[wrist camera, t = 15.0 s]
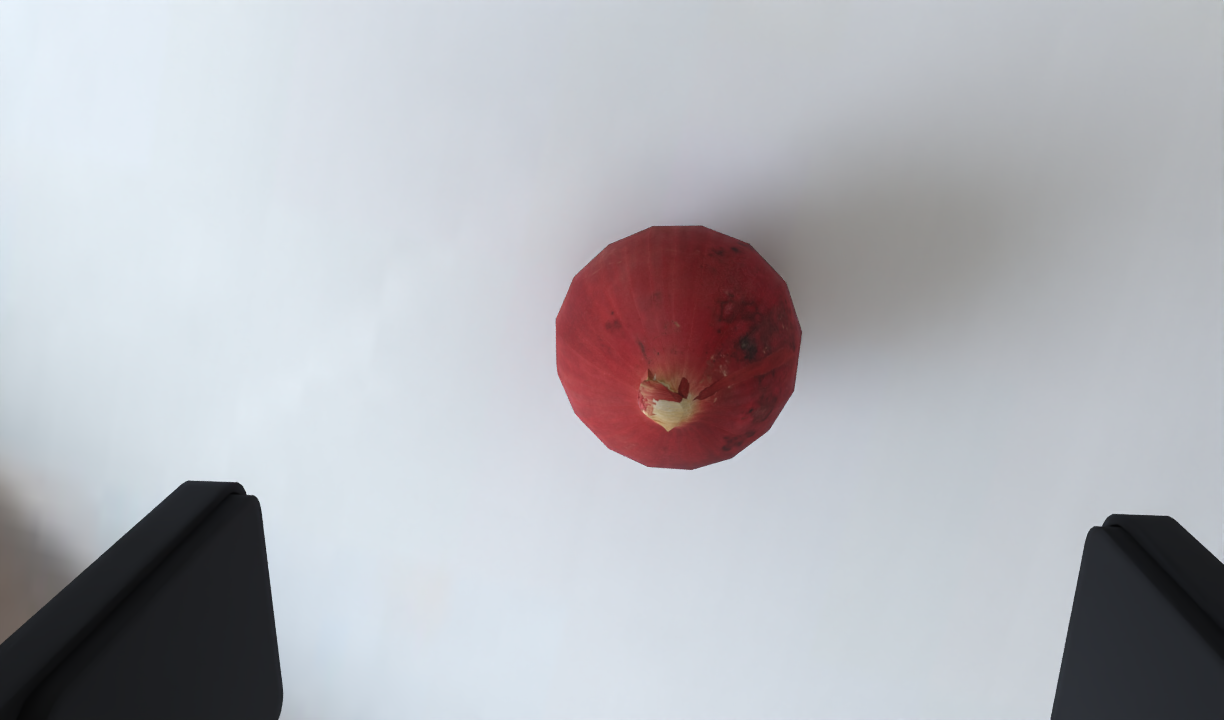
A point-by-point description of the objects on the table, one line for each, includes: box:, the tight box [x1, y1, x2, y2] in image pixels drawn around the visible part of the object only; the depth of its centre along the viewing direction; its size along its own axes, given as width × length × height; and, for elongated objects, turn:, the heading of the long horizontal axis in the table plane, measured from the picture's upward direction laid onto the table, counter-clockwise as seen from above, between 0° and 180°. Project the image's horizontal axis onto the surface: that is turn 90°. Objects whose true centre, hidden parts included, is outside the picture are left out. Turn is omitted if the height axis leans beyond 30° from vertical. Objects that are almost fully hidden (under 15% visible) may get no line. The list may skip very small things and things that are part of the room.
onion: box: [556, 226, 802, 470], centre depth 22 cm, size 6×6×8 cm
